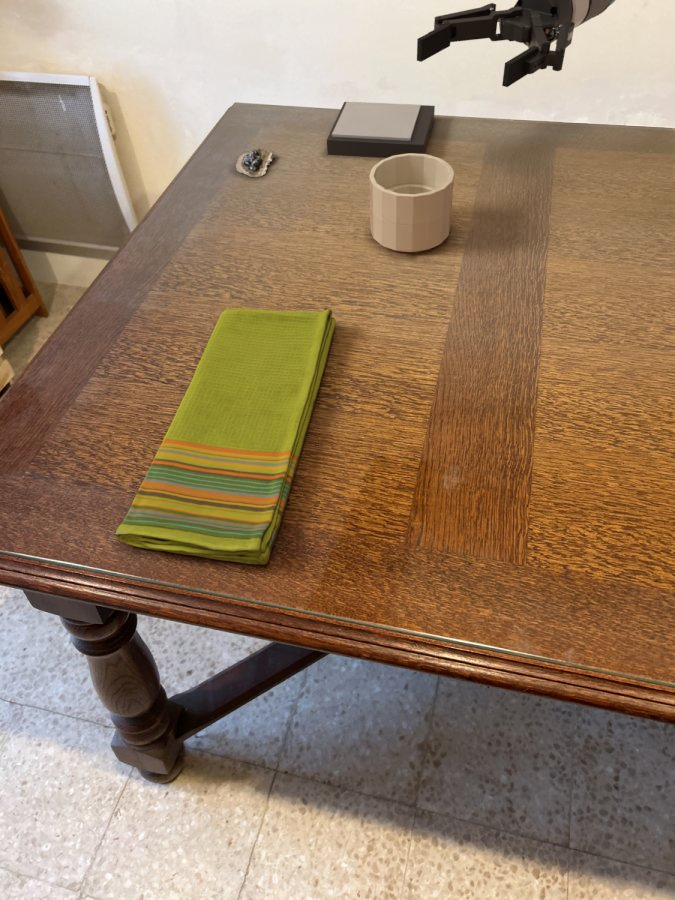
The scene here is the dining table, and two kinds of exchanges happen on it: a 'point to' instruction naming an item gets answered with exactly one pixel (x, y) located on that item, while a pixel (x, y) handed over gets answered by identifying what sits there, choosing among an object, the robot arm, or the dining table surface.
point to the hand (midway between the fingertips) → (460, 62)
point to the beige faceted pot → (411, 201)
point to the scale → (380, 129)
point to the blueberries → (254, 162)
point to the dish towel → (234, 439)
